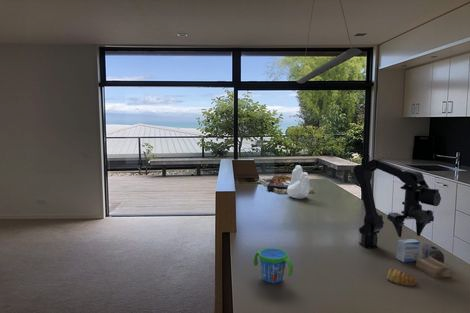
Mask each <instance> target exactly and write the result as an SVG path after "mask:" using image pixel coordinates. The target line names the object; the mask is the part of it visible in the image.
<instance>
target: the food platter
mask: <svg viewBox="0 0 470 313" xmlns="http://www.w3.org/2000/svg"><path fill="white" fill-rule="evenodd" d="M291 177H292V175H291V176H289V175H286V174H285V175H284V174H279V175H273V177H271V176H270V178H269V179H271V181H270V182H268V186H267V187H266V188H267V191H270V192H271V191H272V192H273V190H274V188H276V189H278V190H287V188H288V186H289V183H290V181H291Z"/></svg>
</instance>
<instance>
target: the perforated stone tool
mask: <svg viewBox="0 0 470 313" xmlns="http://www.w3.org/2000/svg"><path fill="white" fill-rule="evenodd" d="M421 253H422V256H423V258H430V257H432V258H434V259H435V260H437V261H439V262H441V263H443V264H445V255H444V253H443V252H442V251H441V250H440V249H439V248H438V247H436V246H435V245H433V244H429V243H425V244H423V245H422V247H421Z"/></svg>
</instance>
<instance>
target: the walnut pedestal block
mask: <svg viewBox="0 0 470 313" xmlns="http://www.w3.org/2000/svg"><path fill="white" fill-rule="evenodd" d="M415 262H416V264H415V268H417V269H419V270H421V271H422V272H424V273H425V274H427V275H429V276H430V277H432V278H434V279H439V278H449V277H451V270H452V267H451V266H449V265H446V264H445V263H441V262H439V261H437V260H435V259H434V258H432V257H430V258H425V257H419V258H417V261H415Z"/></svg>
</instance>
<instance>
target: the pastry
mask: <svg viewBox="0 0 470 313" xmlns="http://www.w3.org/2000/svg"><path fill="white" fill-rule="evenodd" d="M386 279H387V280H389V282H391V283H395V284H398V285H404V286H407V287H409V286H414V285H416V281H417V279H415V278H414V277H413V276H411V275H410V274H408V273H406V272H404V271H402V270H398V269H393V268H389V270H388V272H387V277H386Z"/></svg>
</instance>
